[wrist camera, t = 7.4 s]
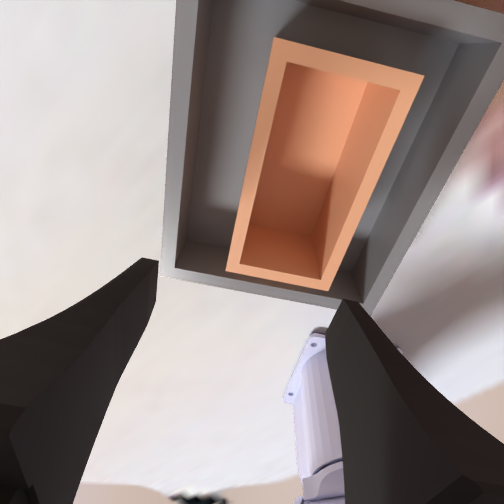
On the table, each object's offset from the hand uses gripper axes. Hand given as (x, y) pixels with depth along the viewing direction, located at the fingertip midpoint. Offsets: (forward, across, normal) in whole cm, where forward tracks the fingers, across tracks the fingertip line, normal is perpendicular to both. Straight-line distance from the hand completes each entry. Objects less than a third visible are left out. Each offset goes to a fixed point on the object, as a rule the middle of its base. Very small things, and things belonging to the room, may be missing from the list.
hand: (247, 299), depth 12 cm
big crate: (+9, -2, -4) cm, 10 cm away
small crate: (+8, -2, -4) cm, 9 cm away
